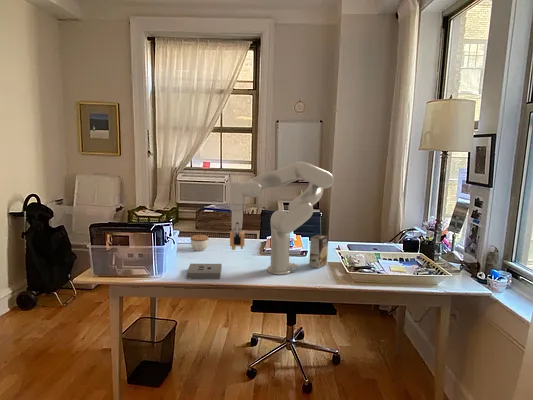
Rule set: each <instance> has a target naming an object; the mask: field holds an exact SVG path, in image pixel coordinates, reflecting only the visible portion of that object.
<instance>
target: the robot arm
mask: <svg viewBox="0 0 533 400" xmlns="http://www.w3.org/2000/svg"><path fill="white" fill-rule="evenodd" d="M298 180H304V181H305V182H308V183H309V184H308V187H307V188H306V189H305V190H304V191H303V192H302V193H300V194H299V195H298V196H297V197H295V198H294V199H292V201H290V202H289V204H288V207H287V209H288V211H285V210H276V211H274V212H273V213H272V215H271V217H270V231H271V235H270V237H271V240H270V265H269V266H268V267H267V268H266V269H267V272H269V274H273V275H281V276H283V275H289V274H291V273H292V270H293V269H298V268H299V265H298V264H297V263H295V262H293V263H292V262H290V246H291V245H290V243H291V242H290V241H291V235H290V234H291V233H293V232H294V231H296V230H297V229H298V228H300V227H301V226H302V225H303V224H305V223H306V222H308V221H309V219H310V218H311V217H312V216H313V214H314V207H313V206H314V205H316V204H317V203H318V202H319V201H320V199H322V196H323V194H324V189H329V188H330V187H332V186H333V184H334V181H335V180H334V175H333V174H332V173H330V172H329V171H327V170H325V169H323V168H320V167H318V166H316V165H314V164H312V163H309V162H306V161H297V162H294V163H291V164H288V165H287V166H283V167H281V168H278V169H276V170H272V171H270V172H266V173H263V174H262V173H261V174H260V175H257V176H255V177H252V178H250V179H247V180H246V181H245V182H243V181H232V182H231V183H230V184H229V210H230V211H231V231H235V234H234V245H240V244H241V237H240V231H243V230H242V228H243V219H244V218H243V216H244V215H243V213H244V212H245V211H246V198H248V197H249V198H258V197H259V196H261V195H262V193H263V190H265V189H268V188H278V187H279V188H280V187H284V186H286V185H289V184H291V183H293V182H296V181H298Z"/></svg>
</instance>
